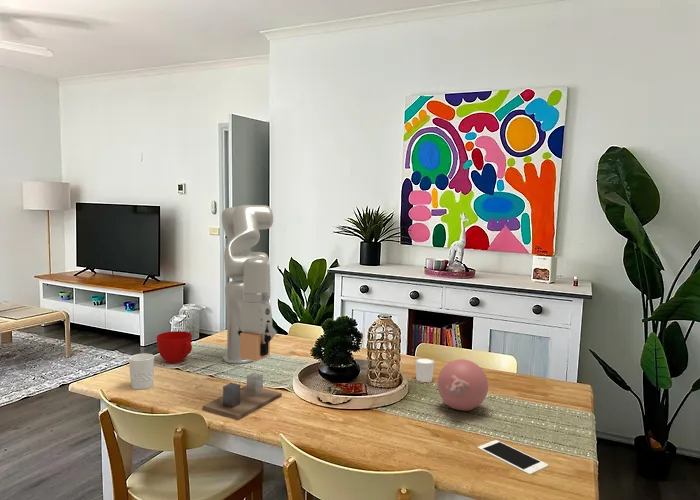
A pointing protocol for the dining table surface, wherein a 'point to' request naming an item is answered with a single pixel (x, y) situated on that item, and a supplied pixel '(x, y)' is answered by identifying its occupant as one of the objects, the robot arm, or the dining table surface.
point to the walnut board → (242, 403)
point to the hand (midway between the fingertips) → (255, 352)
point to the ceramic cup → (174, 345)
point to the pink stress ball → (462, 384)
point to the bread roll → (332, 389)
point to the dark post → (231, 395)
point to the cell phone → (513, 457)
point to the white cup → (141, 370)
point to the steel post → (254, 384)
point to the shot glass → (424, 369)
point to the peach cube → (251, 346)
